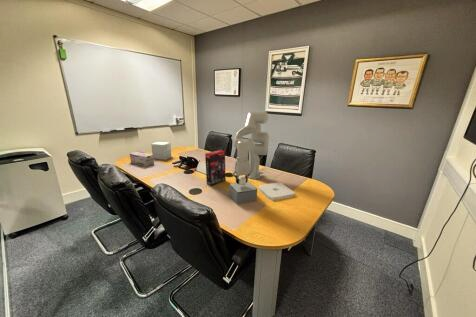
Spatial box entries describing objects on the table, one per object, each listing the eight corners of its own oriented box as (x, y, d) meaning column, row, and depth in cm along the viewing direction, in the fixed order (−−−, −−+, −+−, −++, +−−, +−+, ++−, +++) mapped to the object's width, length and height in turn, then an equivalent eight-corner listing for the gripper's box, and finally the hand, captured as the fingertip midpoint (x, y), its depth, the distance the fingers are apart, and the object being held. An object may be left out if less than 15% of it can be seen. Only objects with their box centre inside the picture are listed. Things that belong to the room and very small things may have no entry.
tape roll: (243, 181, 143) (243, 175, 142) (247, 184, 138) (247, 178, 137) (236, 182, 141) (236, 176, 139) (239, 185, 136) (239, 179, 134)
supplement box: (171, 156, 237) (170, 142, 231) (165, 160, 224) (164, 144, 219) (159, 155, 240) (157, 141, 235) (152, 158, 228) (150, 143, 223)
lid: (248, 182, 150) (248, 181, 150) (257, 189, 138) (257, 188, 138) (229, 184, 144) (230, 183, 144) (237, 192, 132) (237, 191, 132)
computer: (256, 188, 159) (257, 185, 159) (279, 184, 167) (280, 182, 166) (270, 201, 140) (270, 198, 139) (295, 196, 148) (296, 193, 147)
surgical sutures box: (154, 164, 210) (153, 154, 207) (145, 167, 201) (144, 157, 198) (140, 160, 222) (138, 151, 219) (131, 162, 213) (129, 153, 210)
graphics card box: (210, 186, 160) (210, 155, 152) (205, 184, 164) (204, 153, 156) (225, 180, 172) (225, 151, 164) (220, 178, 176) (220, 149, 168)
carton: (247, 191, 153) (248, 182, 150) (256, 199, 140) (257, 189, 138) (229, 195, 146) (229, 185, 144) (236, 204, 134) (236, 193, 132)
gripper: (233, 161, 127) (232, 186, 133) (256, 159, 134) (254, 182, 139) (228, 158, 134) (228, 182, 139) (251, 156, 141) (250, 179, 146)
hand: (241, 182), depth 139 cm, fingers closed on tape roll, 6 cm apart
